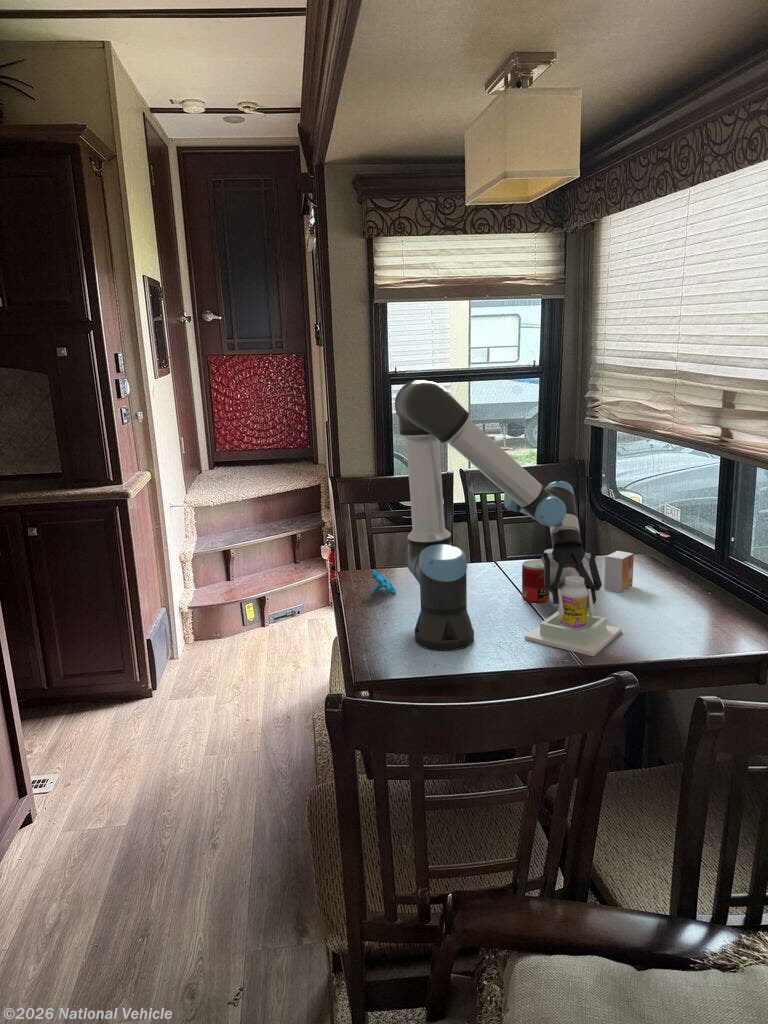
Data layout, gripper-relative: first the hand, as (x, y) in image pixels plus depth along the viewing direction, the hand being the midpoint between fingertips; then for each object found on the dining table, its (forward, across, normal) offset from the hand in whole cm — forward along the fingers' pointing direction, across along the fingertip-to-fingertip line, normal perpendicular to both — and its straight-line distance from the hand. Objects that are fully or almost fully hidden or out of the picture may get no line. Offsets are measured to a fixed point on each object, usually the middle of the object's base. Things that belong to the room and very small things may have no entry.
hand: (576, 615), depth 170 cm
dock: (+2, 0, -7) cm, 8 cm away
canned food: (-17, +5, -27) cm, 32 cm away
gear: (-22, +50, -32) cm, 64 cm away
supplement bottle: (+1, 0, -6) cm, 6 cm away
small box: (-23, -21, -34) cm, 46 cm away
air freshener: (-28, -2, -38) cm, 48 cm away
